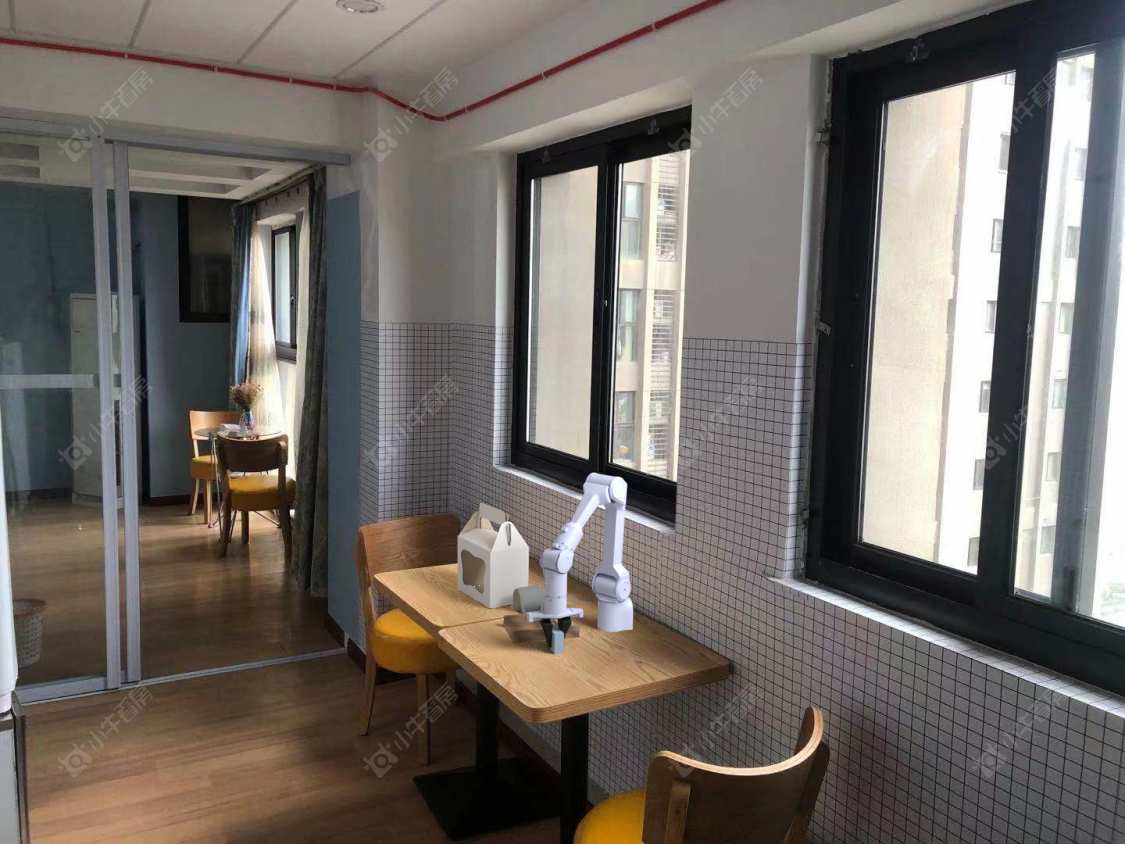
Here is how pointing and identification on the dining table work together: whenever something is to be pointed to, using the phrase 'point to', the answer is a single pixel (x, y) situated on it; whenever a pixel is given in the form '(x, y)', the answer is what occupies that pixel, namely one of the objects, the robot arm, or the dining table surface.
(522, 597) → the ceramic mug
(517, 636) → the rack
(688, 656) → the dining table surface
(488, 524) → the gable box
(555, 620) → the offcut top
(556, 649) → the block
